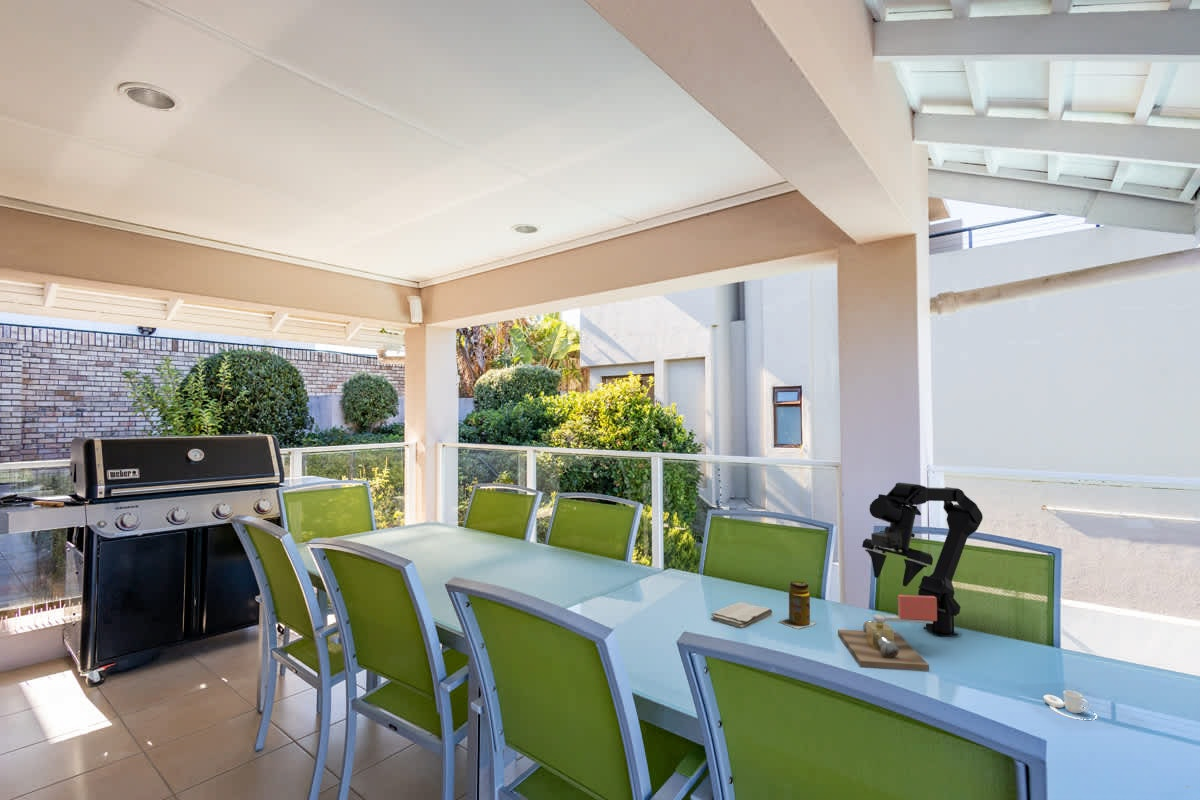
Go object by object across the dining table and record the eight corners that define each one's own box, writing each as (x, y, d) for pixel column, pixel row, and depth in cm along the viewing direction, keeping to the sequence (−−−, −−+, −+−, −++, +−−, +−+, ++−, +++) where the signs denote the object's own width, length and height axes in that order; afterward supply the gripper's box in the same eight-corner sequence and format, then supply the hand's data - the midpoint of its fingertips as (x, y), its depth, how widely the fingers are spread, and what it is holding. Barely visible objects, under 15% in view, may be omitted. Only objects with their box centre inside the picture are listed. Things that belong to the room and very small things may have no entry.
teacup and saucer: (1036, 702, 128) (1036, 684, 128) (1070, 701, 129) (1069, 682, 129) (1072, 723, 119) (1071, 703, 119) (1108, 722, 120) (1107, 701, 120)
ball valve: (860, 634, 163) (860, 611, 164) (880, 635, 163) (880, 612, 163) (879, 657, 148) (879, 631, 148) (901, 658, 147) (900, 632, 147)
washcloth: (709, 621, 180) (709, 611, 180) (739, 607, 193) (739, 598, 193) (743, 631, 171) (743, 620, 172) (772, 616, 184) (772, 606, 184)
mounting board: (838, 634, 167) (837, 629, 167) (897, 637, 165) (897, 632, 165) (860, 667, 145) (860, 660, 146) (929, 671, 143) (929, 664, 143)
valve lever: (875, 621, 154) (875, 596, 154) (872, 618, 157) (871, 592, 157) (938, 625, 152) (937, 598, 152) (933, 621, 155) (933, 595, 155)
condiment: (816, 624, 176) (815, 584, 177) (798, 629, 171) (797, 588, 172) (796, 617, 182) (795, 578, 183) (778, 622, 178) (777, 582, 178)
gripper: (854, 514, 170) (842, 567, 167) (911, 525, 153) (899, 584, 150) (881, 524, 174) (870, 575, 171) (939, 535, 157) (928, 593, 154)
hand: (889, 581), depth 162 cm, fingers open, 9 cm apart
